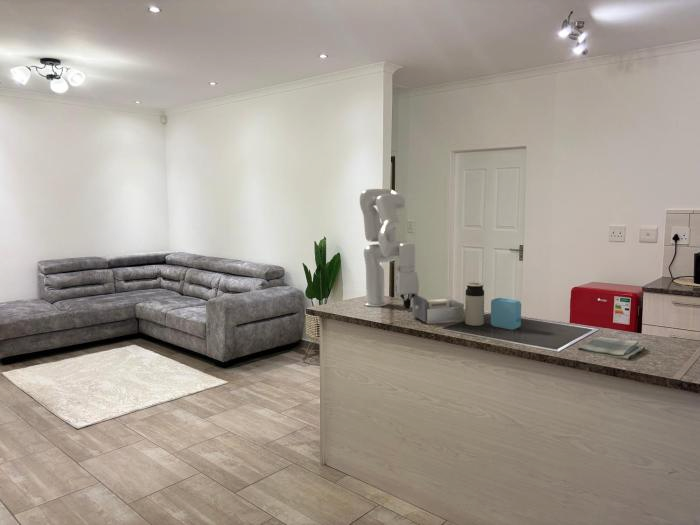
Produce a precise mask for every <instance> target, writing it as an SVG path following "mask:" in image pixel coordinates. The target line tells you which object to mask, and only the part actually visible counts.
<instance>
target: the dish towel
mask: <svg viewBox="0 0 700 525" xmlns="http://www.w3.org/2000/svg"><path fill="white" fill-rule="evenodd" d="M577 351H580V352H585V353H590V354H595V355H599V356H603V357H609V358H612V359H613V358H614V359H619V360H624V361H629V360H631V359H632V358H634V357H636V356H638V355H640V354H641V353H642V352H643V351H646V347H645V346H639V341H638V340H626V339H619V338H610V337H603V336H602V337H601V336H598V337H597V336H596V337H595V338H592V339H591V340H589V341H588V340H587V341H586V342H585V343H583V344H581V345H580V346H579V347H577Z"/></svg>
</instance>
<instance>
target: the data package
mask: <svg viewBox="0 0 700 525" xmlns="http://www.w3.org/2000/svg"><path fill="white" fill-rule="evenodd" d="M521 323H522V302H521V301H520V300H515V299H510V298H509V299H508V298H503V297H496V298H493V299H492V300H491V301H490V324H491V326H492V327H496V328H501V329H506V330H512V331H514V330H517V329H519V328H521V326H522V324H521Z"/></svg>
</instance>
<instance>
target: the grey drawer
mask: <svg viewBox="0 0 700 525" xmlns="http://www.w3.org/2000/svg"><path fill="white" fill-rule="evenodd" d="M411 300H412V303H411V305H412V306H411V307H412V308H411V309H412V315H413V316H414V317H415V318H417V319H418V318H419V319H418V320H420V321H421V320H422V322H423V323H425V322H427V300H428V299H426V298H424V297H423V296H420V295H419V294H418V295H416V294H414V297H413V298H412V299H411ZM449 308H451V307H450V306H449Z"/></svg>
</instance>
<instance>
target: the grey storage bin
mask: <svg viewBox="0 0 700 525" xmlns="http://www.w3.org/2000/svg"><path fill="white" fill-rule="evenodd" d="M446 300H448V301H449V306H450V307H451V308H437V309H427V322H424V323H425V325H426V324H427V325H432V324H434V325H435V324H446V323H457V322H465V320H464V319H465V316H464V315H465V312H464V310H465V309H464V308H465V307H464V305H465V304H464V303H463V302H461V301H458V300H456V299H454V298H451V297H449V296H448V297H447V298H446Z"/></svg>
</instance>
